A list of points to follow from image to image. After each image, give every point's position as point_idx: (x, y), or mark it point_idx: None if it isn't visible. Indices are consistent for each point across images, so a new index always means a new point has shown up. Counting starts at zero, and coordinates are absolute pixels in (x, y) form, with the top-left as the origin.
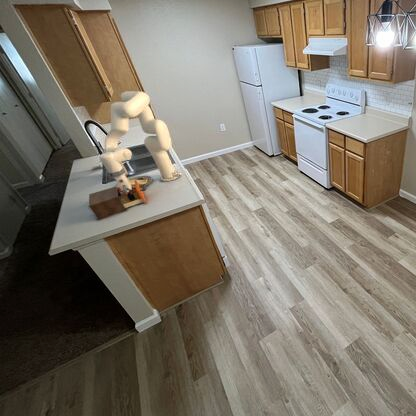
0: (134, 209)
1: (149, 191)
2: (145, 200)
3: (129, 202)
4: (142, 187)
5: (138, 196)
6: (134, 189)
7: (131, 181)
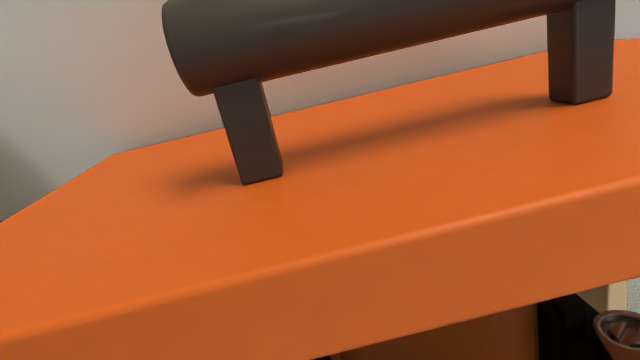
0: None
1: (91, 34)
2: (502, 61)
3: (619, 298)
4: (421, 31)
5: None
6: None
7: None
